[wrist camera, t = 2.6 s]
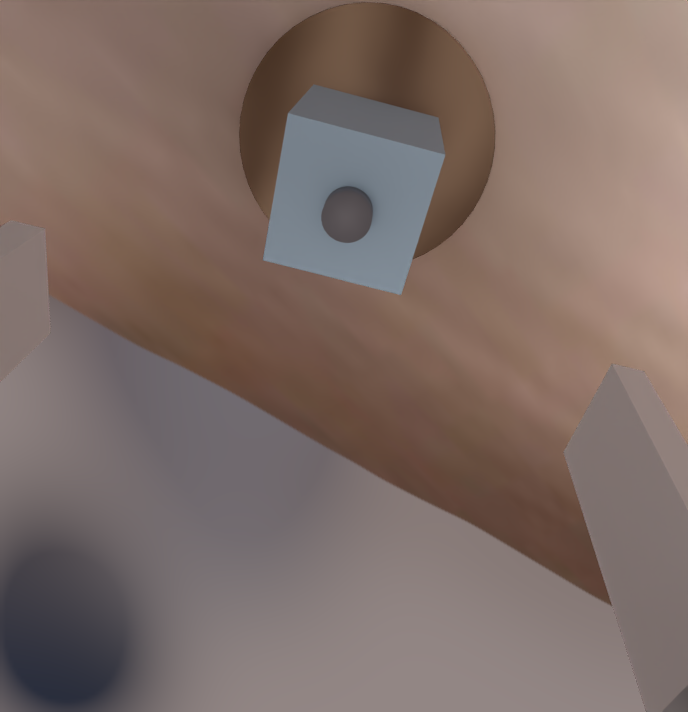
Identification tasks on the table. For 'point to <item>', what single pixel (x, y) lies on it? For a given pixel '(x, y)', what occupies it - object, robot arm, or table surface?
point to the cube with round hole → (353, 188)
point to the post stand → (376, 98)
